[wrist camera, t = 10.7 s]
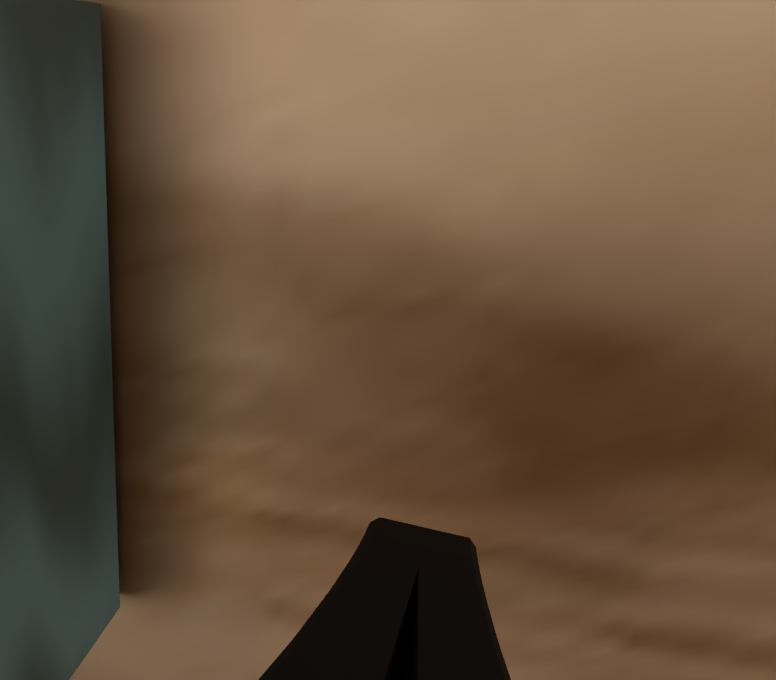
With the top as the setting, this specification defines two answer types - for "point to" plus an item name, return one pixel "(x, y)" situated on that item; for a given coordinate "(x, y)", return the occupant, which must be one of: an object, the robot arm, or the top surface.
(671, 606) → the top surface
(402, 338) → the top surface
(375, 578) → the robot arm
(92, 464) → the tray
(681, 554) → the top surface
